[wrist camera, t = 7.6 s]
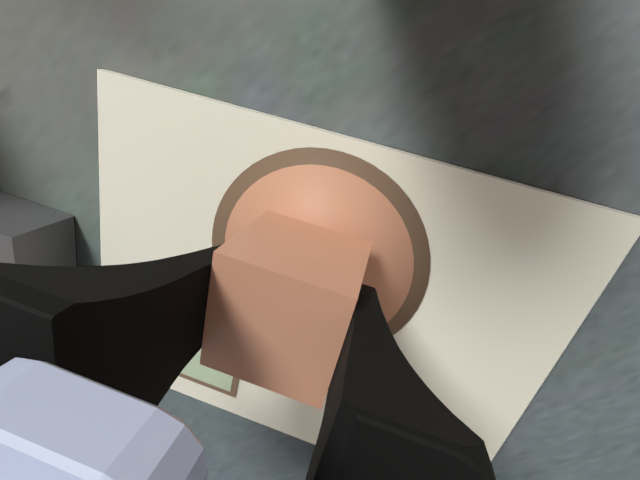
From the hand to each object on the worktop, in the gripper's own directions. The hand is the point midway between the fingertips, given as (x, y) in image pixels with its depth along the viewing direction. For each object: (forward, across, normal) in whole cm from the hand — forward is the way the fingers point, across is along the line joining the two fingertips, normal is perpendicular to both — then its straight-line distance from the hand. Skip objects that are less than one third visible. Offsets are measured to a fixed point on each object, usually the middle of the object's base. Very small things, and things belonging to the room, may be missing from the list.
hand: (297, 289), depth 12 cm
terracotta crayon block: (+2, 0, 0) cm, 2 cm away
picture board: (+3, 0, +2) cm, 4 cm away
